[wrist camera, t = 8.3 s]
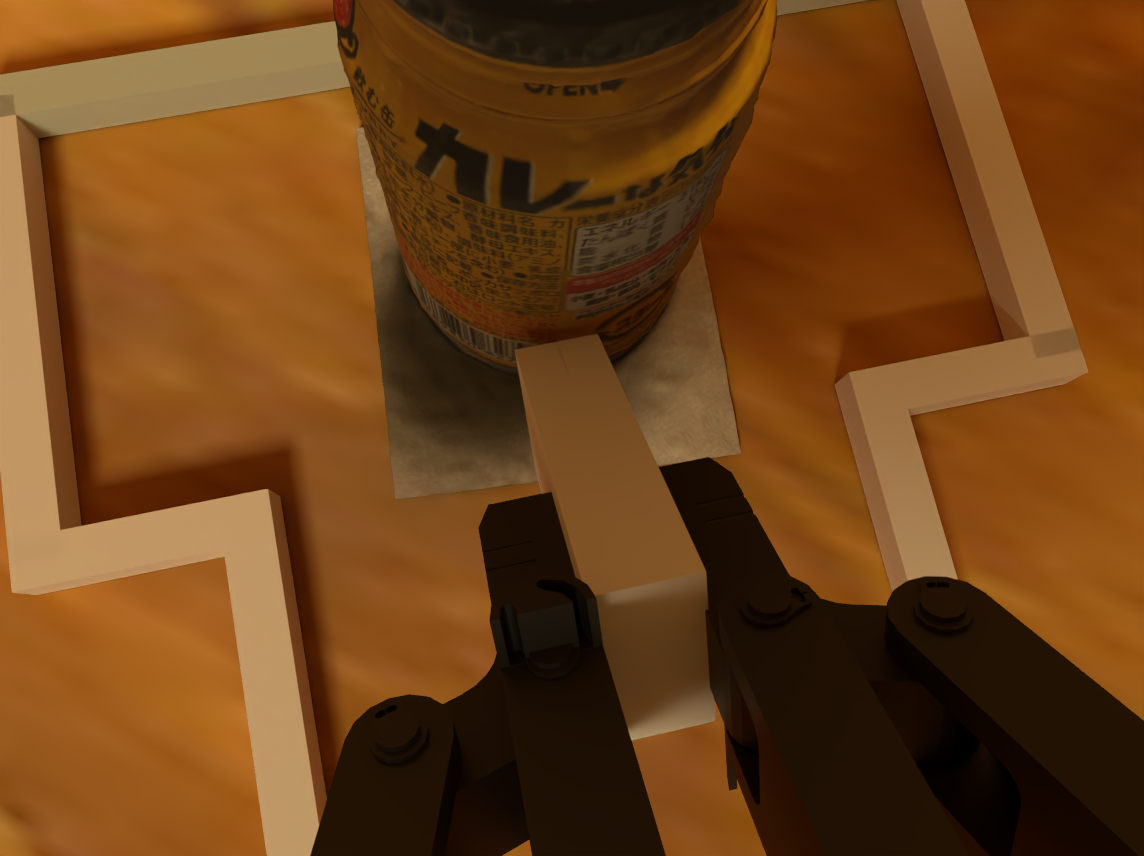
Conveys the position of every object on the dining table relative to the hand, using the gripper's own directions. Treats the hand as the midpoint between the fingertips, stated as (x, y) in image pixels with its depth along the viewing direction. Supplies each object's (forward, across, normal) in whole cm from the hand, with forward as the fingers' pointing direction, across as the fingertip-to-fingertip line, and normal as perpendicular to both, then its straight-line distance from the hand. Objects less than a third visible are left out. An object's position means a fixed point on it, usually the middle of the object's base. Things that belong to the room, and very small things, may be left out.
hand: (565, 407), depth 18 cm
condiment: (+5, 0, 0) cm, 5 cm away
